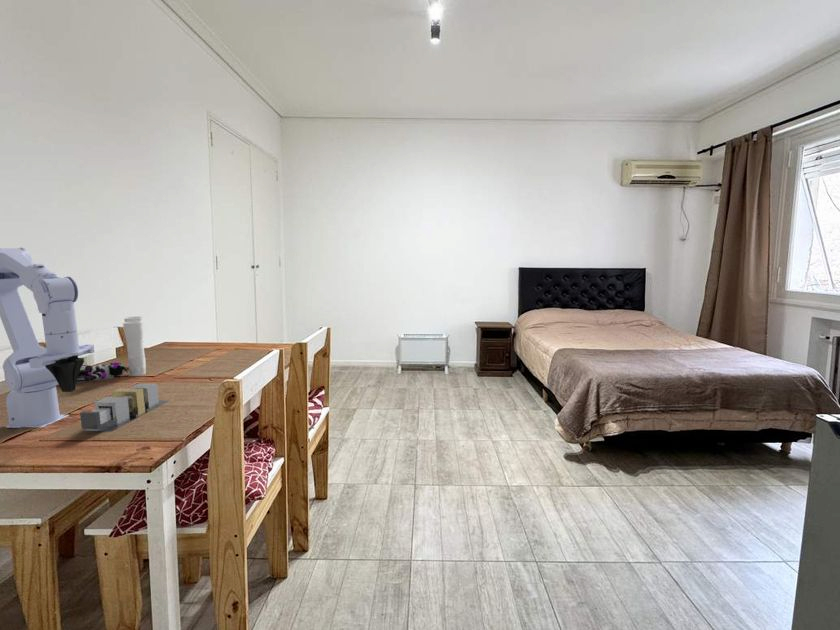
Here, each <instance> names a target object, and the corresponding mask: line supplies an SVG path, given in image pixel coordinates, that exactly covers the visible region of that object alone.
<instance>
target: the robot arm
mask: <svg viewBox="0 0 840 630" xmlns="http://www.w3.org/2000/svg"><path fill="white" fill-rule="evenodd" d="M32 260H33V259H32V256H31V254H30V252H29V250H27V249H26V248H25V247H15V248H14V247H11V248H10V247H4V248H3V247H2V248H0V320H1V323H2V325H3V328H4V331H5V333H6V336H7V338H8V340H9V344H10V346H11V348H12V351H13V352H12V353H11V354H10V355H8V357H6V358H5V360H4V361H3V363H2V369H3V374H4V381H5V384H6V386H7V387H8V388H9V389H10V390H11V391H9V393H8V394H7V395H6V400H5V405H6V411H7V419H8V424H7V425H5V428H6V429H7V428H8V429H10V428H11V429H20V428H43V427H46V426H48V425H51V424H53V423H56V422H58V421H60V420H62V419H64V418H66V417H70V415H69V414H60V407H59V399H58V397H59V396H58V391H57V386H59V387H60V390H61V392H62V393H72V392H74V391H76V387H77V383H76V382H78V380H77V378H78V374H79V371H80V369H81V367H82V365H84V363H85V358H84V357H81V356H83V355H87V354H93V353H95V345H94V344H83V345H80V344H79V342H80V341H79V335H78V326H77V318H76V310H75V303H76V302H77V300H78V298H79V288H78V285H77V283H76V281H75V279H73V277H71V276H64V277H61V276H59V275H58V274H56V273H55V272H53V271H51V269H49V268H48V267H46V266H45V265H44V264H43V263H33V261H32ZM22 286H24V287H26V288H27V289H28V290H29V291H31V292H32V294H33V298H34V300H35V303H36V305H37V311H38V313H39V314H41V318H42V325H43V334H44V341H45V347H44V346H41V345H40V344H39V341H38V338H37V337H36V334H35V332H34V331H35V330H34V329H33V326H32V324H31V320H30V319H29V316H28V313H27V310H26V309H25V306H24V303H23V301H22V298H21V296H20V293H19V290H18V289H19V287H22Z"/></svg>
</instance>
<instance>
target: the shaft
mask: <svg viewBox="0 0 840 630" xmlns="http://www.w3.org/2000/svg"><path fill="white" fill-rule="evenodd" d="M143 393H144V391H143ZM124 397H127V398H128V407H129V410H131V409H133V401H132V396H124ZM144 403H145V395H144ZM79 416H80V424H81V429H83V430H85V429H99V428H101V424H103V423H105V422H107V421H109V420H111V419H113V412H112V406H101V407H99V408H97V409H95V408H94V409H92V410H90V411H85V410H83V411H80V413H79Z"/></svg>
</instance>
